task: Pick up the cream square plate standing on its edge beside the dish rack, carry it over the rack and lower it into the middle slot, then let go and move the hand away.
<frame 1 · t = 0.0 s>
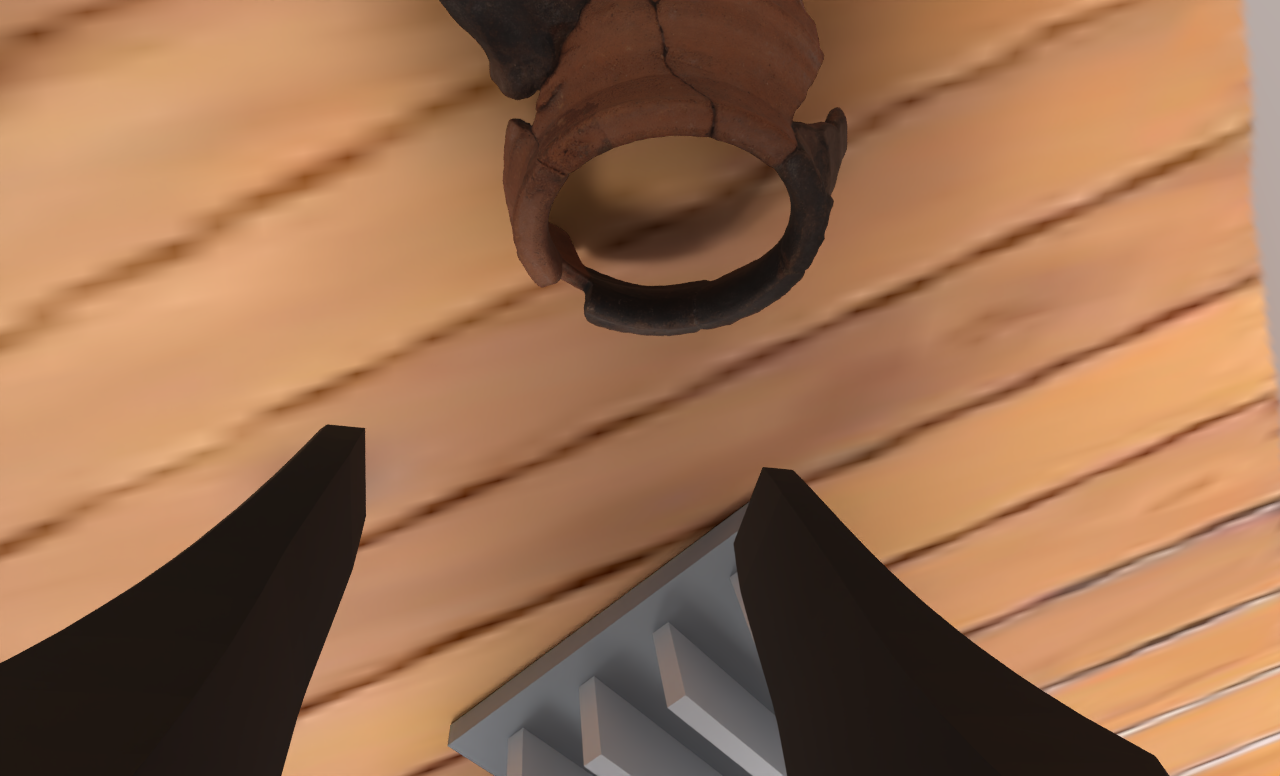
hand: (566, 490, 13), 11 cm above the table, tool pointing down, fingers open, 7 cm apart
dark brown curved piece: (621, 91, 20), on the table
dish rack: (752, 746, 32), on the table
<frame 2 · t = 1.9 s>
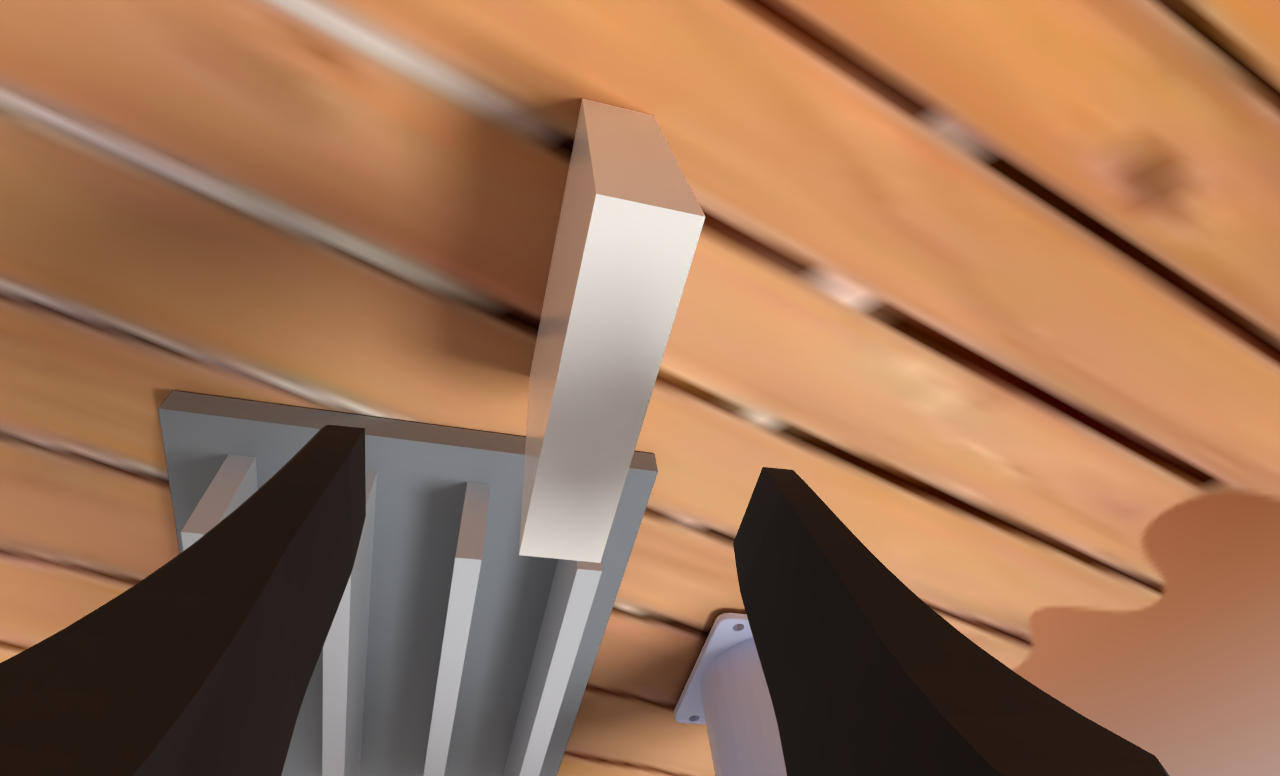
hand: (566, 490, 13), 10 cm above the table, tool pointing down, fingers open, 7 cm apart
cream plate: (585, 258, 21), on the table
dish rack: (409, 629, 30), on the table
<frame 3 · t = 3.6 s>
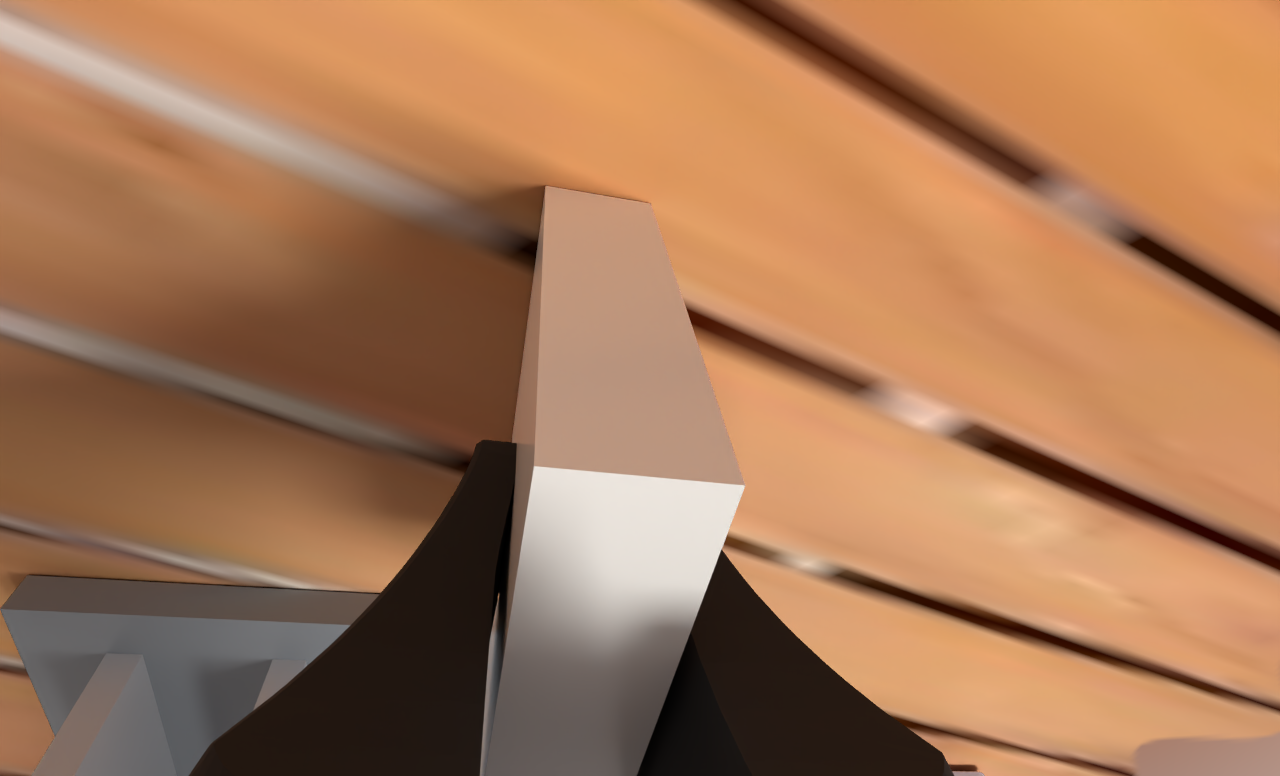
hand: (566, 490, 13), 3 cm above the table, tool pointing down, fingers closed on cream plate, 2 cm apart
cream plate: (564, 392, 15), on the table, touching gripper
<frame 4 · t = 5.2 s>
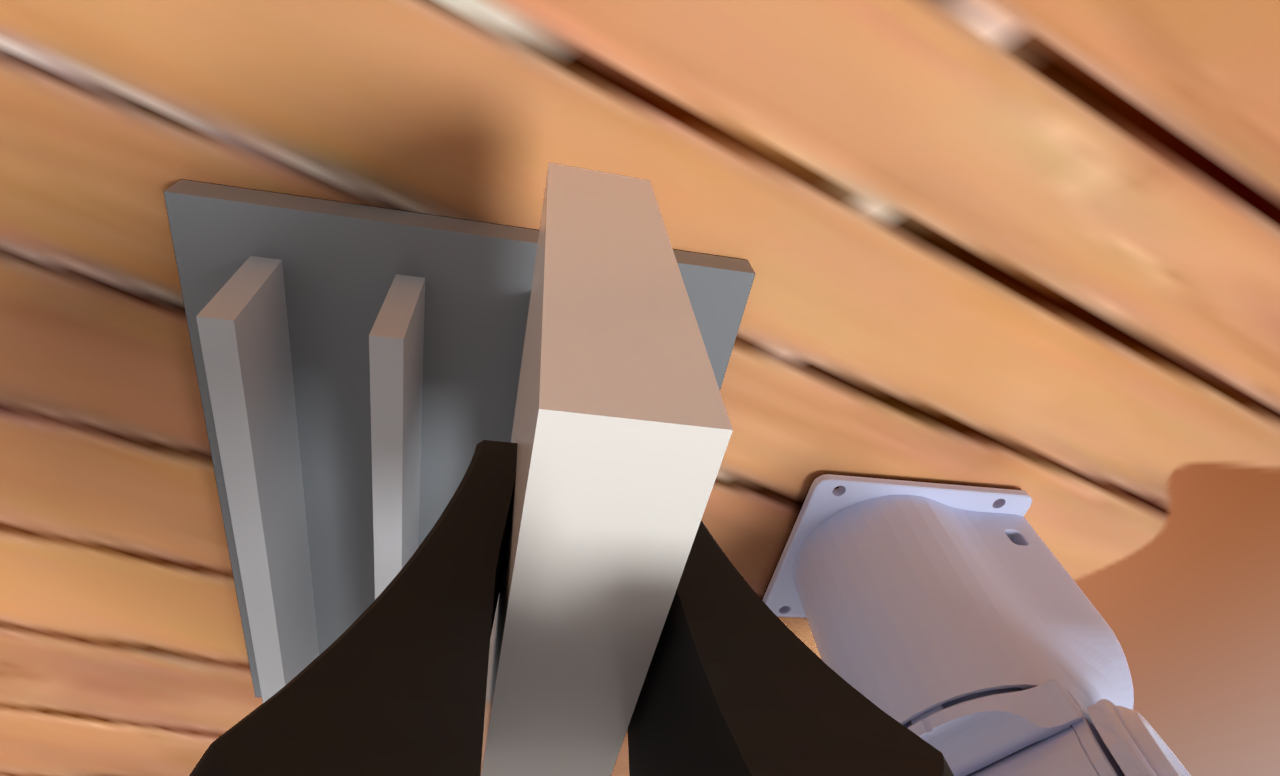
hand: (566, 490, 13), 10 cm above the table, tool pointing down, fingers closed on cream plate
cream plate: (565, 364, 16), point 6 cm above the table, touching gripper
dish rack: (465, 502, 26), on the table
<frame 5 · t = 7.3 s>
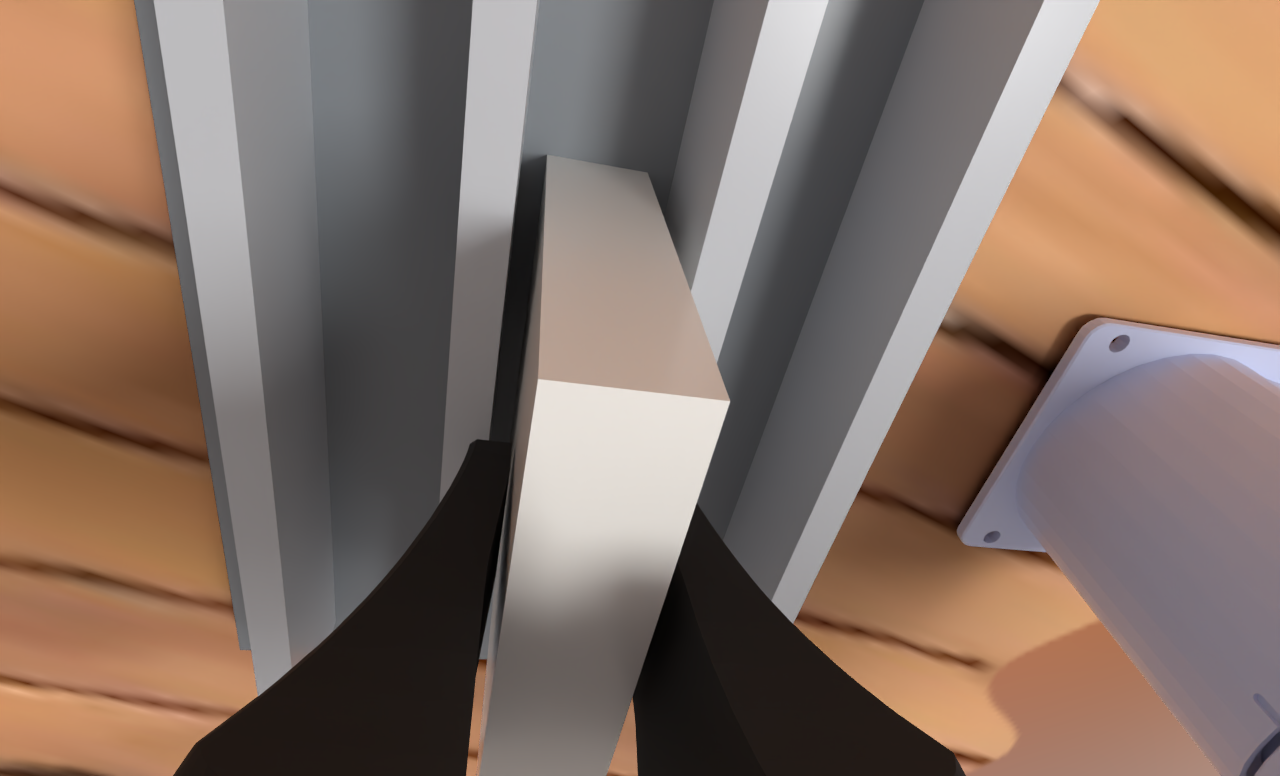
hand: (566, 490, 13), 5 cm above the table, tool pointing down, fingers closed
cream plate: (565, 357, 16), point 1 cm above the table, touching dish rack
dish rack: (564, 346, 17), on the table
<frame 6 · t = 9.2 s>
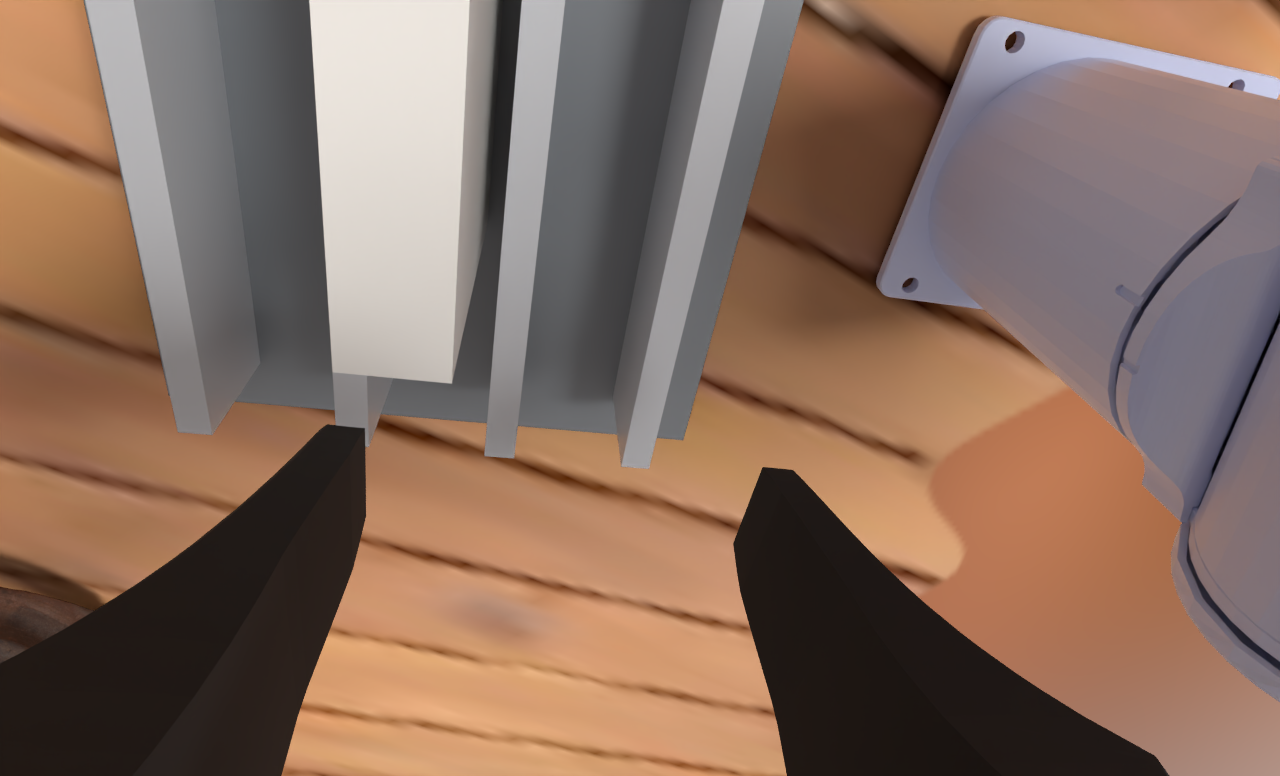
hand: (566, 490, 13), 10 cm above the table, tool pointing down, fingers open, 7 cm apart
cream plate: (457, 34, 16), point 1 cm above the table, touching dish rack
dark brown curved piece: (18, 638, 28), on the table
dish rack: (462, 42, 17), on the table
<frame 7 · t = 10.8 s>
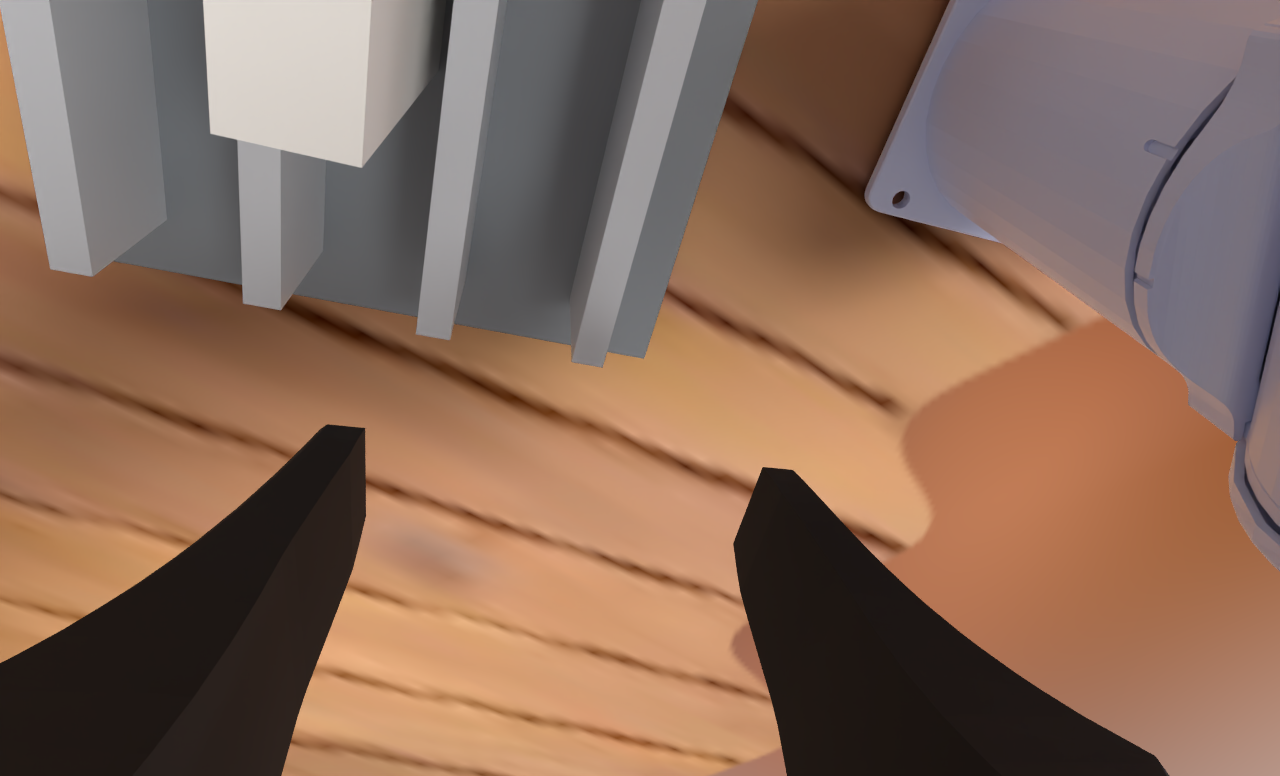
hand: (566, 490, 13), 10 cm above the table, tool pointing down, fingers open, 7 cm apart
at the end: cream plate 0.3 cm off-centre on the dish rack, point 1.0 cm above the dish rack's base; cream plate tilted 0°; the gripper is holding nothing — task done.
